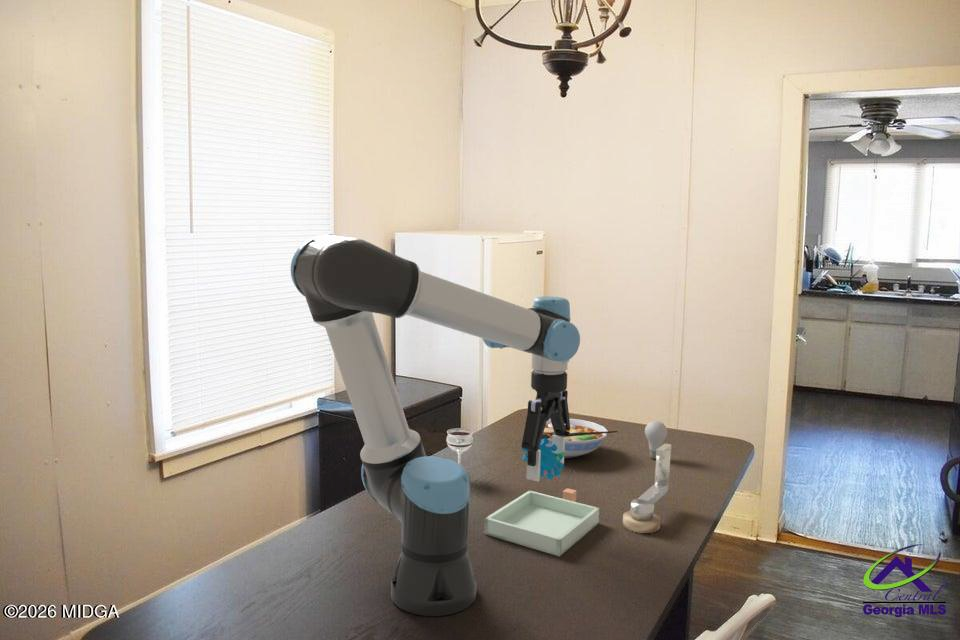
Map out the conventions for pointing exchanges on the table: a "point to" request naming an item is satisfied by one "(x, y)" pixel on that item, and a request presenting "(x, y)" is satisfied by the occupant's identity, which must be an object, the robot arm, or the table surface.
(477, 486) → the table surface
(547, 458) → the gear
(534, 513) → the tray
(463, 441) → the wineglass
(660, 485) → the crank
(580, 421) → the ramen bowl
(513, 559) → the table surface
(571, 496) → the post
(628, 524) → the crank pedestal
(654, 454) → the lightbulb
